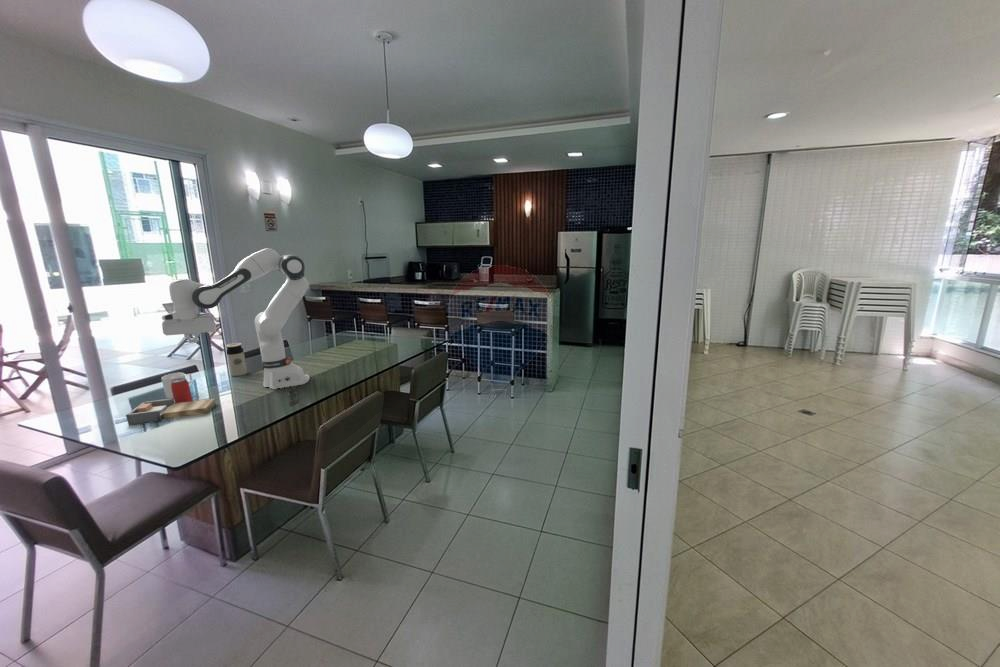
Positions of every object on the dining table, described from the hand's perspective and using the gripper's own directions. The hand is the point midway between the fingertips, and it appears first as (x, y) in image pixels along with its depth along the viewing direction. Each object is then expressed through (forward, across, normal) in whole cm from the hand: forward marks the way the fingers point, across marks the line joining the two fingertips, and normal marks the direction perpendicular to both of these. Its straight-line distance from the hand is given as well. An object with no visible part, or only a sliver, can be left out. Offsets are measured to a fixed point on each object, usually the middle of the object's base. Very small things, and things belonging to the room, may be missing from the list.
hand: (193, 342), depth 182 cm
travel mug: (+29, -5, -35) cm, 46 cm away
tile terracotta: (+26, +16, +15) cm, 34 cm away
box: (+29, +15, +15) cm, 36 cm away
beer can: (+29, +8, +3) cm, 31 cm away
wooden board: (+29, +1, +15) cm, 33 cm away
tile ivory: (+28, +13, +15) cm, 35 cm away
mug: (+29, +14, -10) cm, 34 cm away
